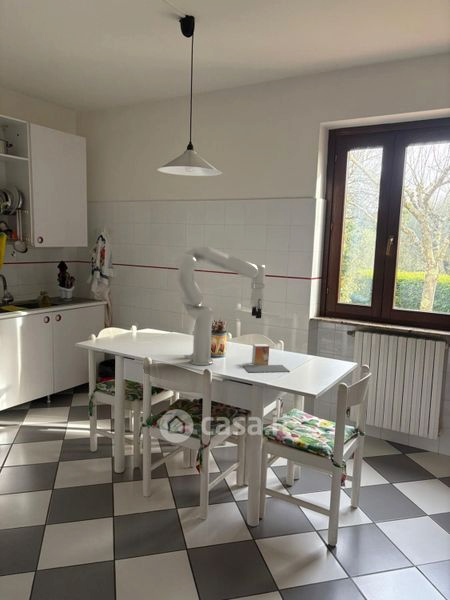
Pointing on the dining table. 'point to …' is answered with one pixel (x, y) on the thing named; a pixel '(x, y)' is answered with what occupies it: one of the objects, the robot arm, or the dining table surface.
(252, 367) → the mat
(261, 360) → the small box
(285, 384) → the dining table surface
